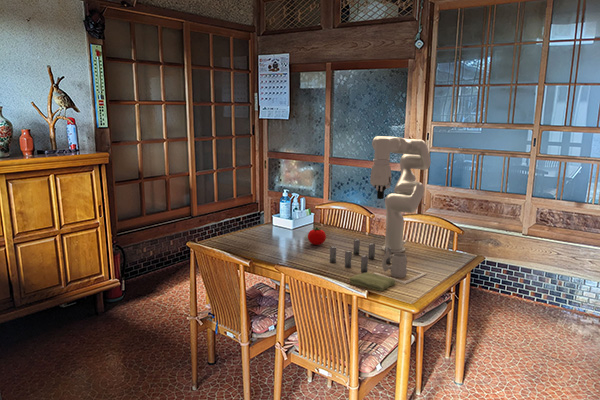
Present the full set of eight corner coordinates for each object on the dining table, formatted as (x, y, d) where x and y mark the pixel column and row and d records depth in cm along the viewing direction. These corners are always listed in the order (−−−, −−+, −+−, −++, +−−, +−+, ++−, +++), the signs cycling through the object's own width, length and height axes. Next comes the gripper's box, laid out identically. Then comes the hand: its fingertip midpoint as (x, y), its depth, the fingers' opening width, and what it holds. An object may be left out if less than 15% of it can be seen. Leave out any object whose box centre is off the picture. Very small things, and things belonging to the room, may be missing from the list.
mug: (406, 278, 212) (408, 253, 210) (380, 276, 215) (381, 251, 213) (407, 273, 219) (408, 249, 217) (382, 270, 222) (383, 246, 220)
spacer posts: (355, 252, 250) (356, 238, 248) (391, 263, 234) (392, 247, 232) (328, 262, 235) (328, 246, 233) (364, 273, 218) (365, 257, 217)
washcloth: (363, 275, 217) (363, 269, 216) (396, 285, 205) (397, 278, 205) (347, 283, 207) (347, 276, 206) (381, 293, 196) (381, 286, 195)
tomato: (322, 248, 258) (323, 230, 256) (305, 246, 262) (305, 229, 260) (327, 243, 268) (328, 226, 266) (310, 241, 271) (311, 224, 269)
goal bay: (395, 265, 230) (395, 264, 230) (426, 274, 217) (426, 273, 217) (373, 274, 217) (373, 273, 217) (405, 284, 205) (405, 283, 205)
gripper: (365, 161, 232) (363, 197, 236) (389, 164, 222) (388, 201, 226) (374, 160, 238) (372, 195, 241) (398, 163, 227) (397, 199, 231)
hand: (380, 198), depth 233 cm, fingers closed
